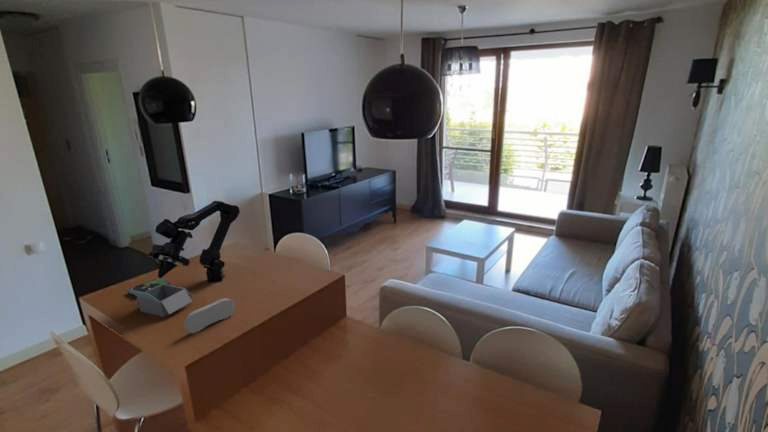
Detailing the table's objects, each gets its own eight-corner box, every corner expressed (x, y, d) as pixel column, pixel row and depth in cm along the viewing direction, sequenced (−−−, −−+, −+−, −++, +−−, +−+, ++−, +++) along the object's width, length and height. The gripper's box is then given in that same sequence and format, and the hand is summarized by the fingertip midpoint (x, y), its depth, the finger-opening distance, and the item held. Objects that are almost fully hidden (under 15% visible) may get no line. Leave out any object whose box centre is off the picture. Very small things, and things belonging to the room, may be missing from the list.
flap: (127, 288, 156) (126, 289, 155) (148, 293, 151) (148, 294, 150) (138, 295, 160) (137, 296, 160) (159, 300, 155) (158, 301, 155)
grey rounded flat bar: (233, 312, 158) (230, 294, 156) (236, 314, 157) (233, 295, 155) (185, 335, 144) (181, 315, 142) (188, 337, 143) (183, 317, 140)
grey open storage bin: (167, 293, 177) (164, 279, 175) (200, 301, 169) (197, 286, 167) (135, 310, 164) (131, 295, 161) (169, 319, 155) (165, 303, 153)
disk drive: (137, 301, 173) (171, 287, 184) (135, 295, 172) (170, 282, 183) (128, 294, 179) (161, 282, 190) (126, 289, 178) (160, 276, 189)
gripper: (146, 233, 165) (127, 267, 159) (177, 238, 157) (159, 274, 151) (167, 243, 174) (150, 276, 168) (197, 248, 167) (180, 283, 160)
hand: (159, 277), depth 162 cm, fingers closed
